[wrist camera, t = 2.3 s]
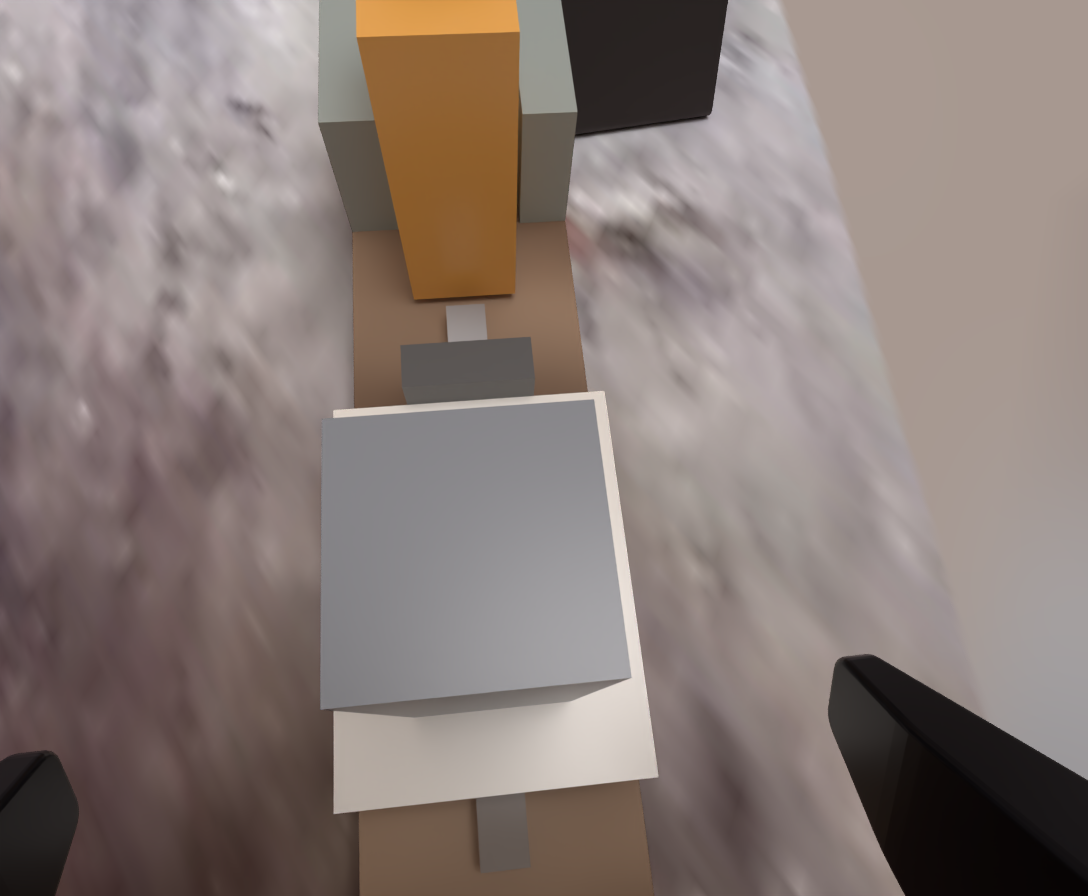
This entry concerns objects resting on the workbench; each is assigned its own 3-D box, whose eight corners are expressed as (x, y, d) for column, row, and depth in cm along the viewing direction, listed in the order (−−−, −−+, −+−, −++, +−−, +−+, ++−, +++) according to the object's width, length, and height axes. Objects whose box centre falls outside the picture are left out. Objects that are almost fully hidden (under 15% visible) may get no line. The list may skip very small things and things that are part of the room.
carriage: (644, 772, 15) (813, 830, 7) (350, 805, 15) (142, 910, 6) (591, 380, 18) (663, 87, 10) (347, 397, 18) (205, 105, 9)
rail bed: (642, 886, 17) (661, 908, 15) (373, 920, 16) (352, 948, 14) (548, 148, 24) (552, 93, 22) (360, 156, 23) (346, 102, 21)
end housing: (564, 220, 21) (577, 111, 17) (352, 231, 21) (318, 122, 17) (550, 112, 22) (559, -10, 19) (351, 120, 22) (319, -4, 18)
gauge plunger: (514, 293, 20) (521, -13, 12) (413, 299, 20) (346, -8, 11) (503, 173, 21) (500, -176, 13) (408, 178, 21) (344, -174, 13)
